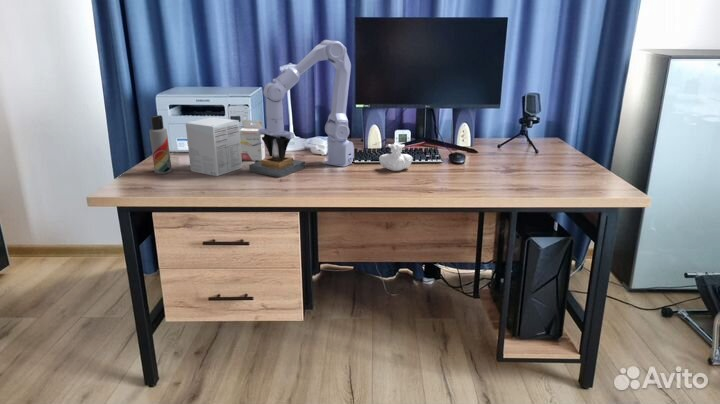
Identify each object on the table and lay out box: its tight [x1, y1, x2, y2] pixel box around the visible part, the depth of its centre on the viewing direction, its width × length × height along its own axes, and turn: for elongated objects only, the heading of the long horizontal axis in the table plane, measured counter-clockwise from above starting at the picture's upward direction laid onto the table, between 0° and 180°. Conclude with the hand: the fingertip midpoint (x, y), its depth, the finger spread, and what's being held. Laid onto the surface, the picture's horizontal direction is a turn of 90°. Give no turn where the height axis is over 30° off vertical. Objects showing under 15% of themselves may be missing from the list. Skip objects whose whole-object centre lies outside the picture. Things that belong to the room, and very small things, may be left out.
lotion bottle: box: [148, 114, 172, 175], centre depth 186 cm, size 6×6×20 cm
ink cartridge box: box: [239, 119, 266, 162], centre depth 204 cm, size 9×5×15 cm, turn 84°
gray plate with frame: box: [248, 156, 306, 178], centre depth 192 cm, size 17×14×4 cm
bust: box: [378, 142, 414, 172], centre depth 190 cm, size 12×8×11 cm
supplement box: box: [185, 116, 243, 177], centre depth 190 cm, size 13×13×18 cm
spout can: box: [271, 137, 283, 162], centre depth 190 cm, size 4×4×10 cm
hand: (277, 156), depth 190 cm, fingers closed on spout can, 4 cm apart
